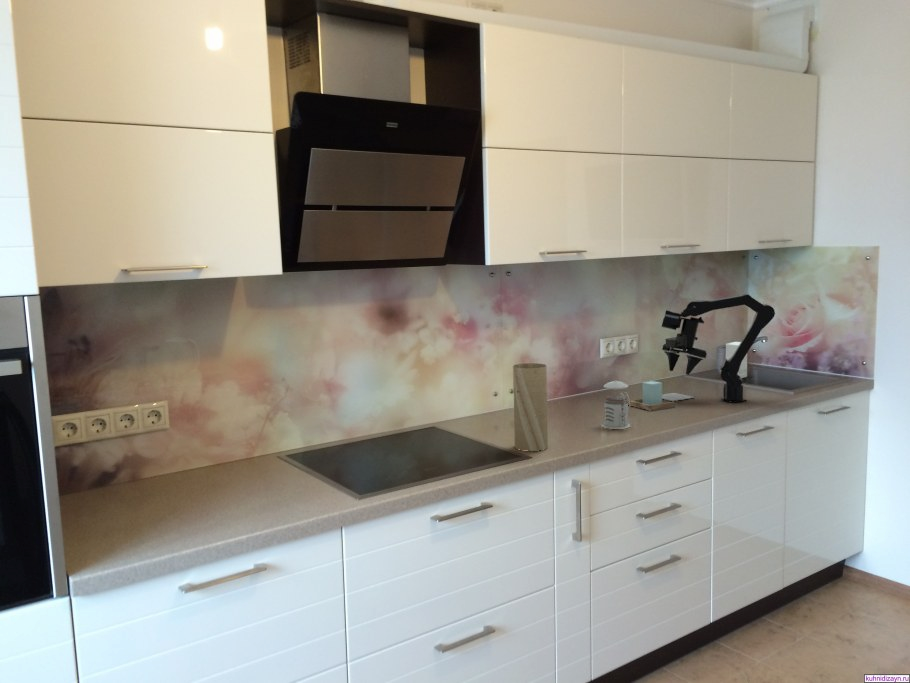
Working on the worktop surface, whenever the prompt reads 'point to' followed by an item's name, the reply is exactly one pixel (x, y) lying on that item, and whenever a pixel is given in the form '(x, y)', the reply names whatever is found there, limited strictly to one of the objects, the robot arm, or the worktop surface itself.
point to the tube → (530, 406)
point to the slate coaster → (675, 397)
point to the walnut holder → (640, 404)
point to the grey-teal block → (652, 392)
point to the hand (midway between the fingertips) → (678, 372)
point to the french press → (616, 406)
